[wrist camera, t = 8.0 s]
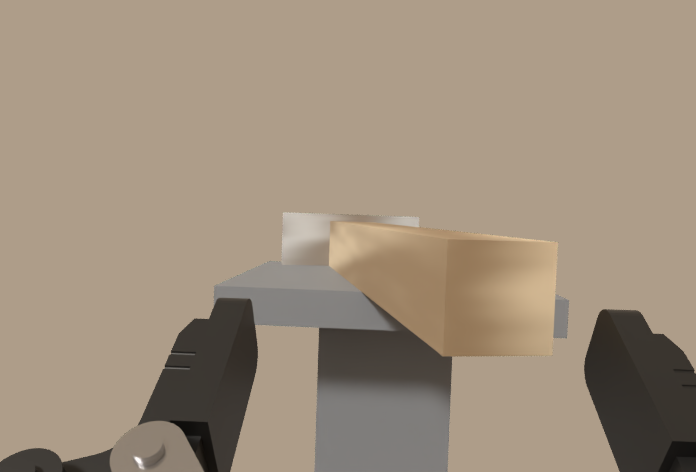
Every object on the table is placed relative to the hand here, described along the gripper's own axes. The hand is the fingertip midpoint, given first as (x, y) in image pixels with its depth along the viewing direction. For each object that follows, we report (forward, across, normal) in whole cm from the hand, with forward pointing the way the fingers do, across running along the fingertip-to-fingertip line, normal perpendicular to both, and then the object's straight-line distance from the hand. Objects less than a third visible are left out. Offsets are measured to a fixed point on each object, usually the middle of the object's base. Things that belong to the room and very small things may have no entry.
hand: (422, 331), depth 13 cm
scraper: (+9, -1, -6) cm, 10 cm away
